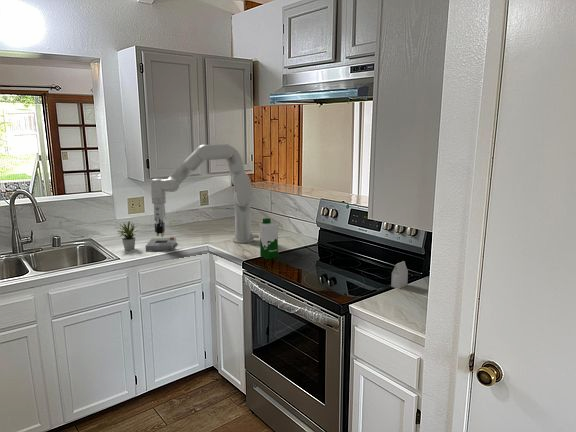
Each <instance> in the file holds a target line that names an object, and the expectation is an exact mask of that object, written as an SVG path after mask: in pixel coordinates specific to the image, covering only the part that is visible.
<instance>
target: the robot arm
mask: <svg viewBox="0 0 576 432" xmlns="http://www.w3.org/2000/svg"><path fill="white" fill-rule="evenodd" d="M215 160H216V161H217V160H226V163H227V165H228V168H229V173H230V179H231V183H232V185H233V186H234V191H235V192H234V193H233V204H234V205H233V206H234V225H235V226H234V232H235V237H234V238H233V239H232V241H233V242H234V243H235V244H236V243H237V244H247V243H253V241H254V240H255V239H260V234H257V233H254V234H253V233H252V210H251V205H252V204H253V202H254V194H253V188H252V182H251V179H250V176H249V174H247V173H246V170H245V166H244V163H243V158H242V156H241V153H240V152H239V151H238V150H237V149H236V148H235V147H234V146H232V145H230V144H229V143H219V144H218V143H217V144H204V143H203V144H200V145H199V146H197V147H196V148H195V149H194V151H192V152H191V153H190V155H189V156H188V157H187V158H186V159H185V160H184V161H183V162H182V163H181V164H180V165H179V166H178V167H177V168H176V169H175V170H174V171H173V172H172V173H171V175H170V176H168V177H167V178H166V179H164V178H152V179H151V181H150V189H151V204H152V205H153V217H154V219H153V220H154V222H155V223H156V232H155V233H156V234H157V233H159V234H161V233H162V222H164V221H165V219H167V216H166V206H165V204H166V203H167V198H166V192H168V193H174V192H177V191H178V190H179V188H180V185H181V184H182V183H183V182H184V181H185V180H186V179H187V178H189V177H190V176H191V175H193V174H194V173H196V172H197V171H198V170H199V168H200V167H201V166H203V164H205V163H206V161H215Z"/></svg>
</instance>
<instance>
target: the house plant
mask: <svg viewBox="0 0 576 432" xmlns="http://www.w3.org/2000/svg"><path fill="white" fill-rule="evenodd" d="M116 224H118V225H120V226H121V227H119V226H115V227H116V228H118V229H120V230H117V231H116V232H117V233H118V234H119V236H120V237H122V236H123V238H121V240H122V244H123V247H124V248H123V249H124V251H134V250H135V246H136V237H134V236H136V234H135V233H136V232H137V230H136V231H135V229H136V228H137V226H136V225H135V224H134V223H131V221H130V220H129V221H128V222H127V224H125V223H123V225H122V224H121V223H116ZM130 224H131V225H130Z"/></svg>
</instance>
